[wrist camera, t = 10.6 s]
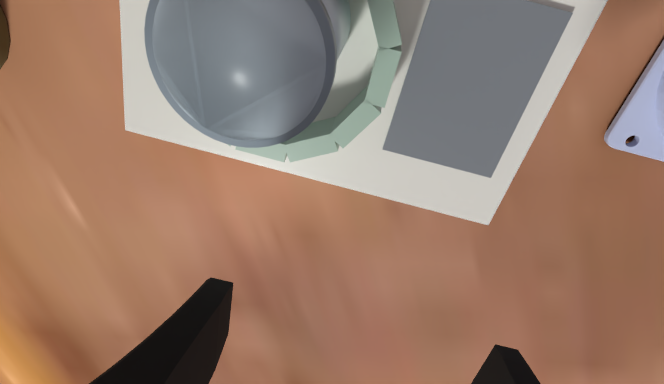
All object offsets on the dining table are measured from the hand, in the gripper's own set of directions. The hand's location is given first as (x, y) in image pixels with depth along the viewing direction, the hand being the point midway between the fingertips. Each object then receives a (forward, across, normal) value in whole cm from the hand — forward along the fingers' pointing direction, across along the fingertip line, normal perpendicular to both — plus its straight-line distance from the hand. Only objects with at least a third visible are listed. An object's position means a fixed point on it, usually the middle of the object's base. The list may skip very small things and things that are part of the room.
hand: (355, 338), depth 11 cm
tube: (+9, +4, -6) cm, 12 cm away
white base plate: (+10, +3, -5) cm, 12 cm away
